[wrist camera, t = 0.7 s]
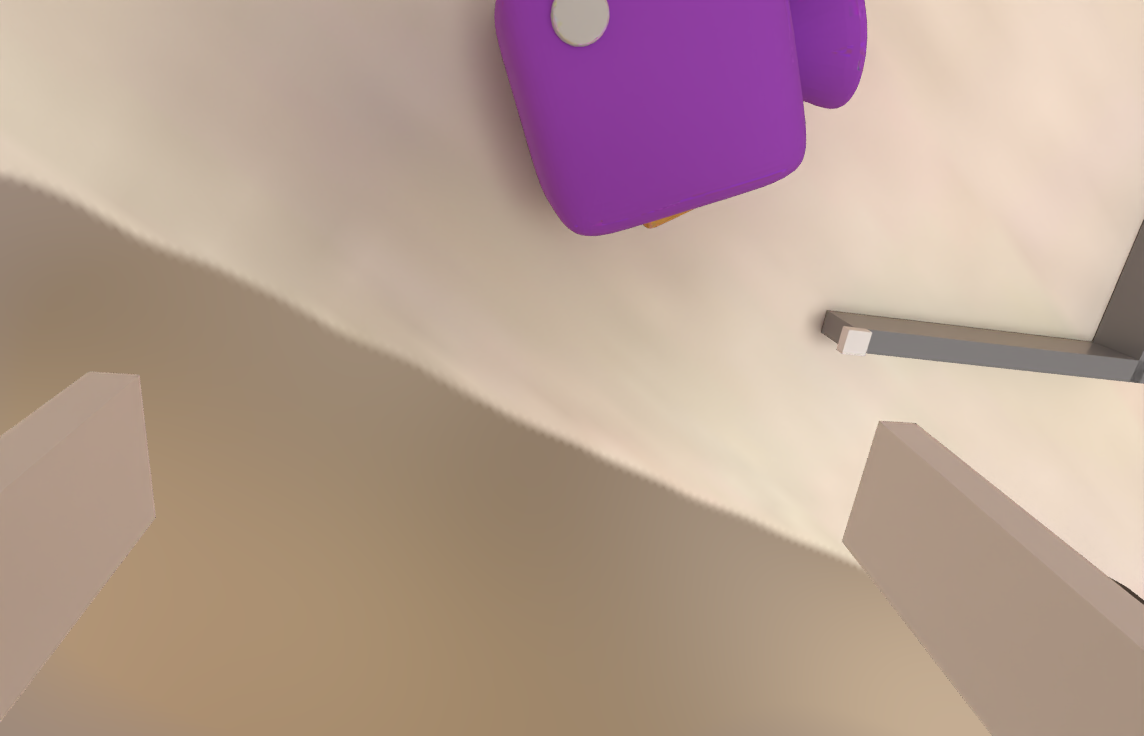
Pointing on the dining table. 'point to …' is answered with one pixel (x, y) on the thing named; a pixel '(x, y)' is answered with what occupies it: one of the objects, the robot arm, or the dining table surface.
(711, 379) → the dining table surface
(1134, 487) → the dining table surface
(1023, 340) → the gray bracket frame
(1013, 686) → the robot arm
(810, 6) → the toy camera
